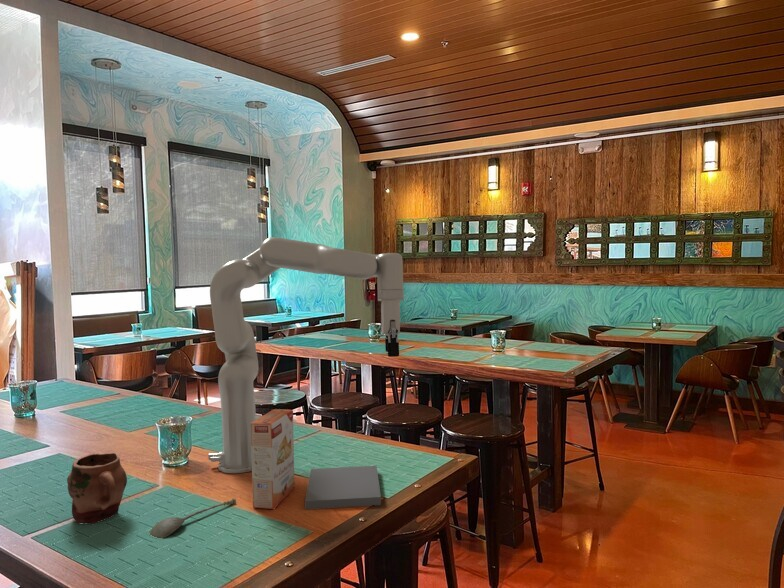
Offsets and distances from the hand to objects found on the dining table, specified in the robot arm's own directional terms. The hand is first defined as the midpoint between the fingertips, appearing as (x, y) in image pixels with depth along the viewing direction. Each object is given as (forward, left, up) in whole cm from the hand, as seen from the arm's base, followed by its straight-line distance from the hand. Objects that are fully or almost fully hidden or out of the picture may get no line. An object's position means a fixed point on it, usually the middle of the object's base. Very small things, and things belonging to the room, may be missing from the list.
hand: (392, 353), depth 172 cm
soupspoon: (-49, -35, -32) cm, 68 cm away
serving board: (-15, -22, -31) cm, 41 cm away
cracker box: (-32, -25, -31) cm, 51 cm away
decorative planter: (-72, -31, -31) cm, 84 cm away
